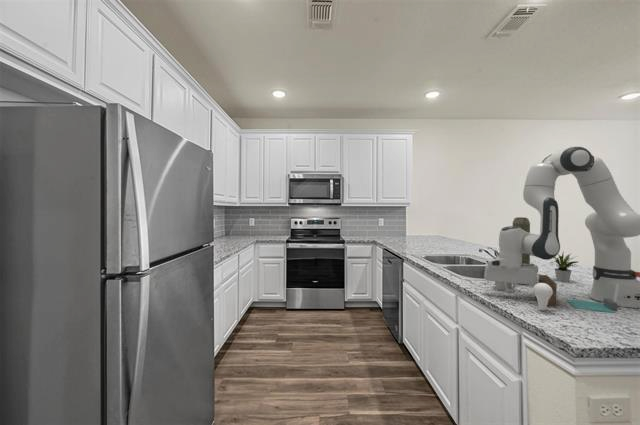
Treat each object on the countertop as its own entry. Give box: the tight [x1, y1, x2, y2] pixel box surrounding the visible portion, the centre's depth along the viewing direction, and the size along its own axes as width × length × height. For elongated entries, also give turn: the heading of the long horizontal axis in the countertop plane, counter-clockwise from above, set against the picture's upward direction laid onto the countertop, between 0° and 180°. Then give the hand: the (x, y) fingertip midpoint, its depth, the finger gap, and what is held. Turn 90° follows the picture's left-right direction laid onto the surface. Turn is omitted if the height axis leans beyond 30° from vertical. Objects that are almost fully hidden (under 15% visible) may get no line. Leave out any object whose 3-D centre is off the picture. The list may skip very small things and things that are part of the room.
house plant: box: [549, 251, 579, 283], centre depth 156 cm, size 14×14×16 cm
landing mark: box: [565, 298, 617, 314], centre depth 118 cm, size 12×12×1 cm
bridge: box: [537, 274, 558, 308], centre depth 124 cm, size 3×15×10 cm, turn 154°
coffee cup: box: [494, 281, 513, 292], centre depth 142 cm, size 9×9×15 cm
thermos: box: [512, 216, 531, 286], centre depth 152 cm, size 9×12×35 cm
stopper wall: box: [603, 298, 618, 312], centre depth 115 cm, size 2×6×3 cm, turn 154°
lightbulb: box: [532, 283, 553, 312], centre depth 113 cm, size 6×6×11 cm
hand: (509, 292), depth 130 cm, fingers closed
